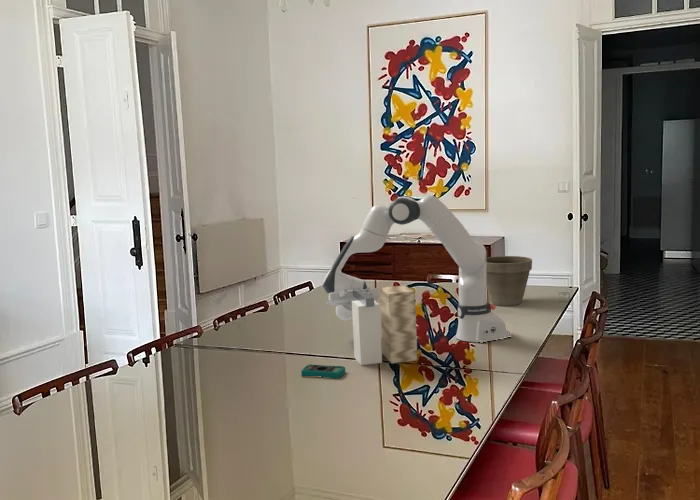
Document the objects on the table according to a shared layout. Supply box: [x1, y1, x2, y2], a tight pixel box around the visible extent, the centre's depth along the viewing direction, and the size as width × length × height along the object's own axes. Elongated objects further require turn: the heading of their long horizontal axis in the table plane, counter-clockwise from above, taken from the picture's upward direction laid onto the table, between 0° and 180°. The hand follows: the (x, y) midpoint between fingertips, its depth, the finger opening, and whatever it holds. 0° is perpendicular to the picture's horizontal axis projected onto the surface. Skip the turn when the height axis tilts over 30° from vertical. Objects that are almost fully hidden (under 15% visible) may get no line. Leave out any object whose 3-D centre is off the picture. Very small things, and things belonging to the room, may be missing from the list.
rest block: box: [352, 300, 383, 366], centre depth 259 cm, size 8×10×22 cm
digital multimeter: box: [300, 364, 346, 379], centre depth 247 cm, size 7×15×3 cm, turn 71°
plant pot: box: [486, 255, 533, 307], centre depth 340 cm, size 25×25×22 cm
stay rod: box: [353, 288, 374, 307], centre depth 260 cm, size 3×20×3 cm, turn 14°
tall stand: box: [378, 285, 418, 364], centre depth 261 cm, size 10×12×26 cm
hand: (357, 290), depth 268 cm, fingers open, 8 cm apart
